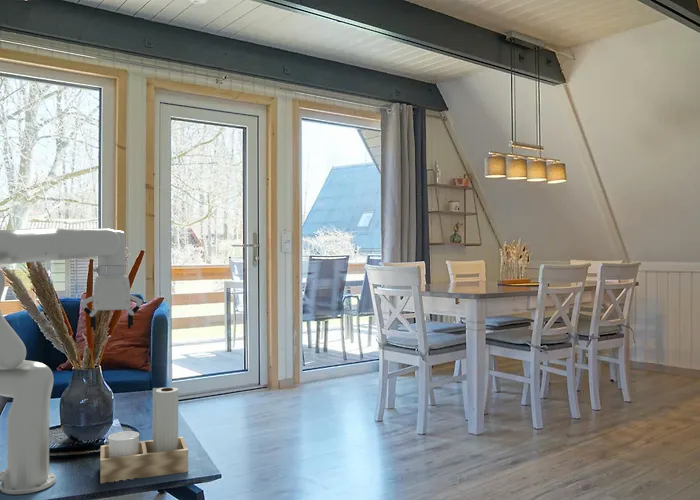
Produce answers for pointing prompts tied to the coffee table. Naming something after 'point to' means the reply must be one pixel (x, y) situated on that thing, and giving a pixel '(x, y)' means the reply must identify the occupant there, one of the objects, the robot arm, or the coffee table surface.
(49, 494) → the coffee table surface
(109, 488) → the coffee table surface
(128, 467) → the wooden caddy
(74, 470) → the coffee table surface
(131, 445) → the white cup
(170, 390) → the paper towel roll
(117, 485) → the coffee table surface
